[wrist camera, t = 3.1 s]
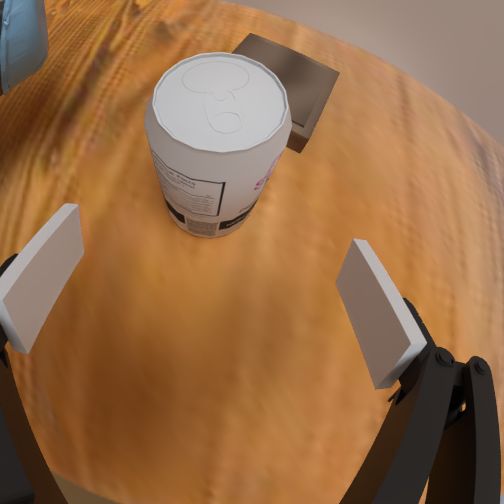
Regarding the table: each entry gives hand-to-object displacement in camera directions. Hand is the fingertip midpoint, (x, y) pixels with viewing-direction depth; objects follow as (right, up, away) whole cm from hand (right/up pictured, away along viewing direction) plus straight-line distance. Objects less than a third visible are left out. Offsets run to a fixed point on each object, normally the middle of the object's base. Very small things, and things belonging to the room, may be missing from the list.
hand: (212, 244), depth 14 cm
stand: (+4, +18, +18) cm, 26 cm away
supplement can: (-2, +5, +15) cm, 16 cm away
